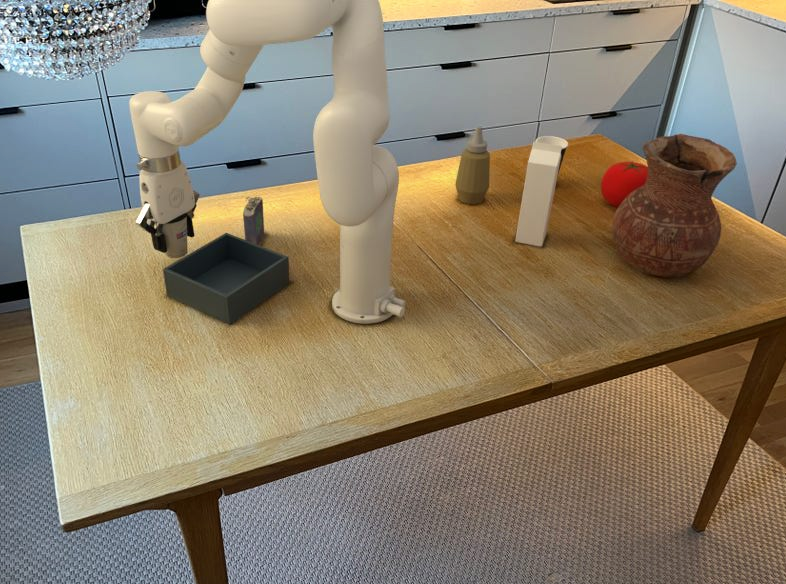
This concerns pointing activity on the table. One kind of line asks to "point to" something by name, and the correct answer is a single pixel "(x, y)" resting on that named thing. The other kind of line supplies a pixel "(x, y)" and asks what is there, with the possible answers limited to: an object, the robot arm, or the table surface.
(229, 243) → the tub
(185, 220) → the coffee cup
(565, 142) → the dixie cup
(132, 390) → the table surface
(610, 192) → the tomato
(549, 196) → the milk
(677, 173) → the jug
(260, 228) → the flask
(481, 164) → the squeeze bottle
